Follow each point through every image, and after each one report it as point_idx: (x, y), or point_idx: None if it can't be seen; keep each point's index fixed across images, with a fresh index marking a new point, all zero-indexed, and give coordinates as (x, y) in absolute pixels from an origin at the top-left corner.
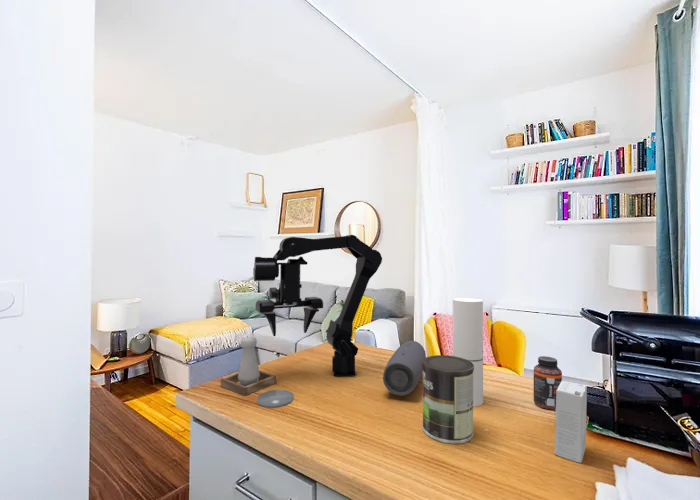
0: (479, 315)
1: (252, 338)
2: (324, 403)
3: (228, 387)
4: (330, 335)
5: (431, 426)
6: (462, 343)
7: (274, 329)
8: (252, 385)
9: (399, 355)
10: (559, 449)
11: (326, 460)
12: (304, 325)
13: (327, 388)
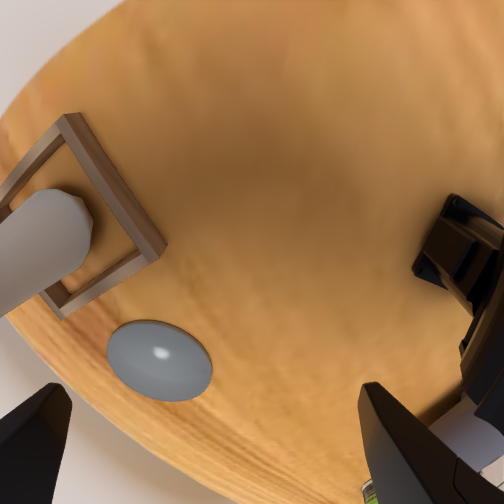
0: None
1: None
2: (280, 415)
3: None
4: (486, 396)
5: (364, 499)
6: None
7: (51, 461)
8: (78, 308)
9: (483, 465)
10: None
11: (221, 492)
12: (382, 448)
13: (333, 352)
